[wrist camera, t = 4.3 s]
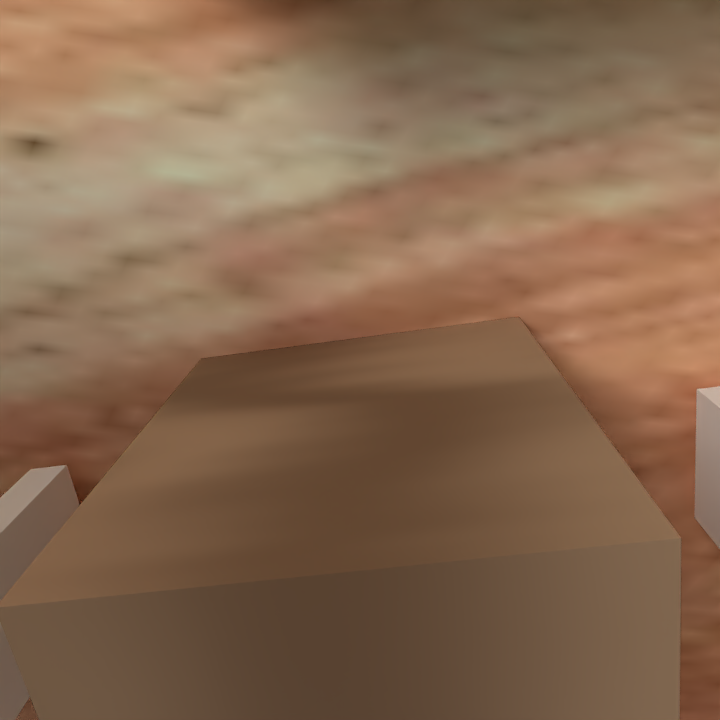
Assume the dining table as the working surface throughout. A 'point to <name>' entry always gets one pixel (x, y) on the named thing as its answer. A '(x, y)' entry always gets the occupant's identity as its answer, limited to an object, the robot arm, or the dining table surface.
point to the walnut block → (360, 549)
